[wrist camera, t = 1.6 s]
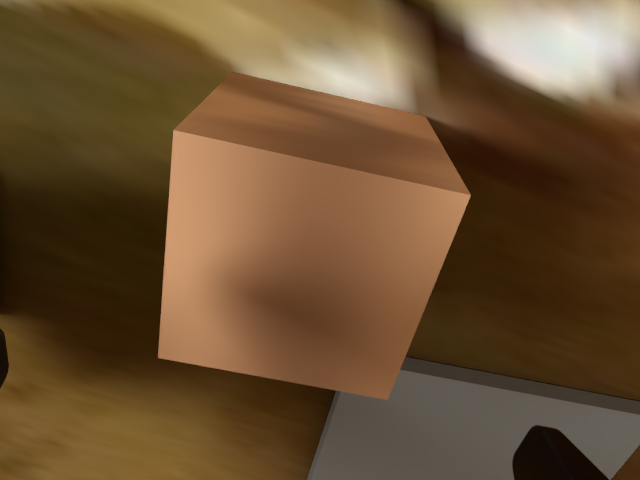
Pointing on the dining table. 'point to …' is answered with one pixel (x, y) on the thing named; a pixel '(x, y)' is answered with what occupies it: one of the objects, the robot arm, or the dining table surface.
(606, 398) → the mat
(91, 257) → the dining table surface
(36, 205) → the dining table surface
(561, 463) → the robot arm
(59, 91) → the dining table surface
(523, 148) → the dining table surface
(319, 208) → the cube
